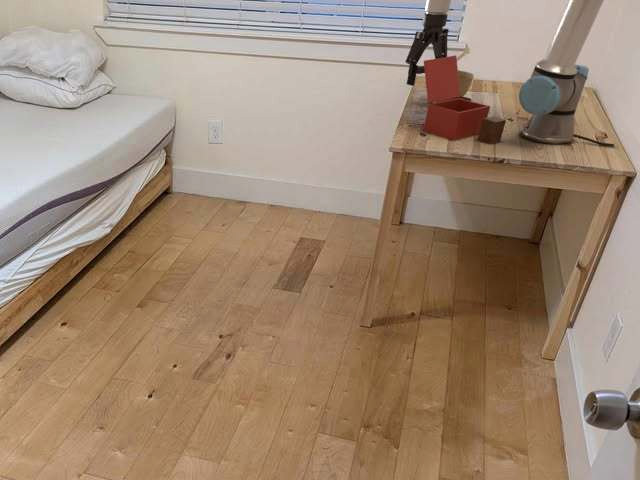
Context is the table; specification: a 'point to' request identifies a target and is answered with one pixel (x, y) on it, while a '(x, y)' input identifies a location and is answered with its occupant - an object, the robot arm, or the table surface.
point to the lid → (441, 78)
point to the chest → (455, 118)
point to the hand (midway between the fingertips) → (421, 82)
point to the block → (491, 130)
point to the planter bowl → (463, 83)
